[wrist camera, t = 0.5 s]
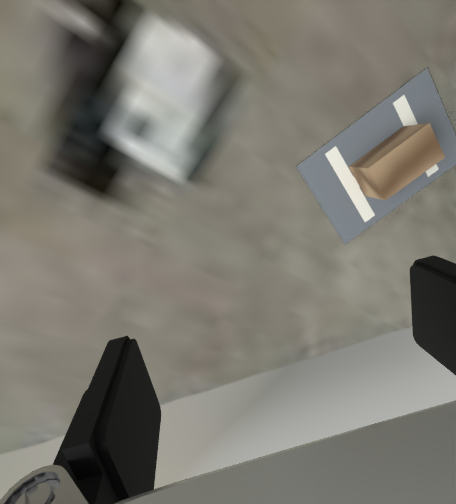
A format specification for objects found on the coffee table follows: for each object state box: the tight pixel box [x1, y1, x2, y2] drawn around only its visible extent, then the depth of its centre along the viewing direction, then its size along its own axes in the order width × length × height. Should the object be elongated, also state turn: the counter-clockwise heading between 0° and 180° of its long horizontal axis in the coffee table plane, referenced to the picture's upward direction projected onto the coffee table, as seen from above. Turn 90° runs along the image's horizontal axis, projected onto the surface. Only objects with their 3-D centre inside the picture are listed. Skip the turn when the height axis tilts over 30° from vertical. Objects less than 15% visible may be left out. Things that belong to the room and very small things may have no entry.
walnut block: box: [349, 123, 445, 201], centre depth 42 cm, size 5×9×5 cm, turn 126°
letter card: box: [296, 68, 456, 244], centre depth 45 cm, size 14×21×1 cm, turn 126°
